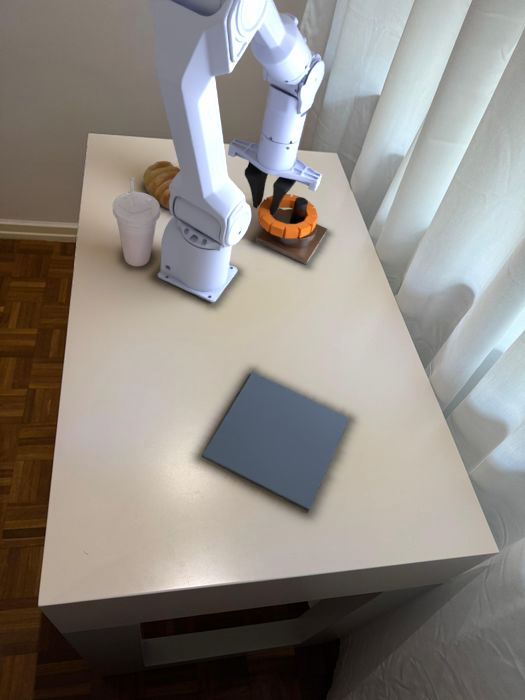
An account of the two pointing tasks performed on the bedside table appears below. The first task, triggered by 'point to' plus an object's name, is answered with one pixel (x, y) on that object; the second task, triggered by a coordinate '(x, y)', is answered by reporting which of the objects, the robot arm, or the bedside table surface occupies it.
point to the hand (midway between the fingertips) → (265, 208)
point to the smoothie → (136, 224)
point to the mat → (277, 440)
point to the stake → (297, 246)
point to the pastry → (160, 181)
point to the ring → (282, 228)
